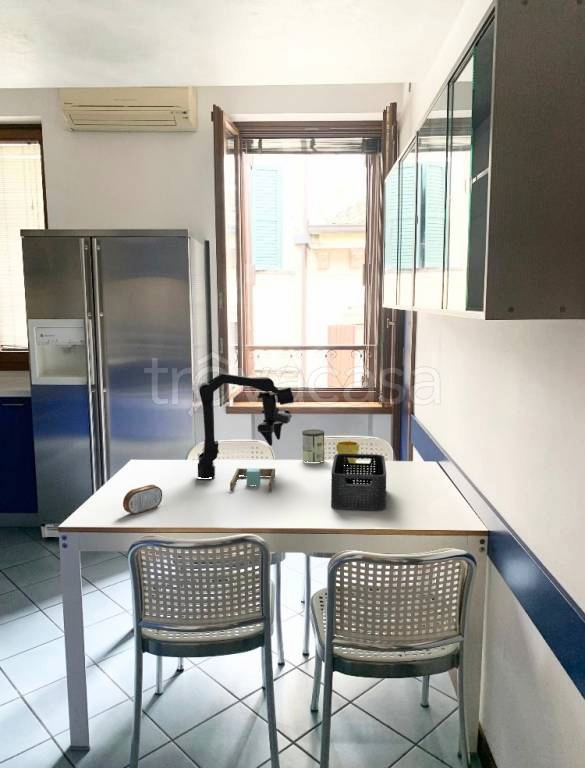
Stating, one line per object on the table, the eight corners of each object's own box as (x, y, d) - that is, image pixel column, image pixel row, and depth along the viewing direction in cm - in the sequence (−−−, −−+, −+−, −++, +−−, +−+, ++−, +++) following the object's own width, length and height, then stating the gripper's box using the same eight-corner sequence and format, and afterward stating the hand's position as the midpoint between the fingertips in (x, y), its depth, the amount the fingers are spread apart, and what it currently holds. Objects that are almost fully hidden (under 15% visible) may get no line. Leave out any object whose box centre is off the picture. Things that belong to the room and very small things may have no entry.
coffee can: (309, 457, 271) (309, 428, 270) (328, 460, 266) (328, 430, 264) (298, 462, 263) (298, 432, 261) (317, 465, 257) (317, 434, 256)
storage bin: (386, 512, 196) (386, 474, 194) (330, 510, 198) (330, 472, 197) (383, 487, 224) (384, 454, 222) (334, 486, 226) (334, 453, 225)
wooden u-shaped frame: (230, 491, 219) (230, 482, 218) (237, 476, 240) (237, 468, 239) (271, 492, 218) (271, 483, 218) (275, 476, 239) (275, 468, 239)
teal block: (246, 486, 226) (246, 471, 225) (248, 482, 231) (247, 468, 230) (259, 486, 226) (259, 471, 225) (260, 482, 231) (260, 468, 230)
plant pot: (331, 464, 258) (331, 443, 257) (344, 460, 266) (344, 439, 265) (350, 468, 251) (350, 446, 250) (363, 463, 259) (363, 442, 258)
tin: (158, 504, 205) (157, 481, 204) (164, 506, 203) (163, 483, 202) (122, 515, 193) (121, 491, 192) (128, 517, 191) (127, 493, 190)
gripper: (279, 410, 228) (284, 447, 231) (294, 400, 246) (299, 435, 248) (254, 412, 232) (259, 448, 234) (271, 402, 250) (275, 436, 252)
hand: (274, 442), depth 242 cm, fingers open, 9 cm apart
